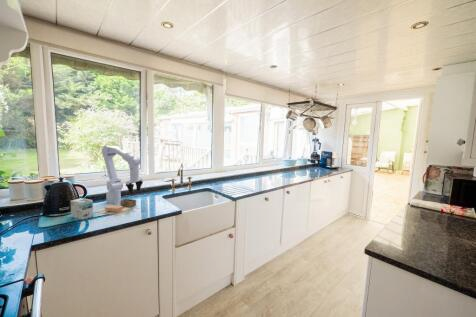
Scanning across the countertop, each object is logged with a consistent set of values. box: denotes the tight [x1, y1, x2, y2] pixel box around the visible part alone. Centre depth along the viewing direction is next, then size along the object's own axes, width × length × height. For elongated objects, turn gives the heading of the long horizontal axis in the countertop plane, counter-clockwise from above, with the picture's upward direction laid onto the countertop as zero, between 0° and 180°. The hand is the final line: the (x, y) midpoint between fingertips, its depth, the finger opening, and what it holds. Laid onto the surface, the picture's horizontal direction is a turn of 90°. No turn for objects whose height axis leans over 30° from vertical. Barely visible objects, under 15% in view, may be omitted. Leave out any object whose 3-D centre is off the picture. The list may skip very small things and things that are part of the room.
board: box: [94, 206, 135, 216], centre depth 137 cm, size 18×14×1 cm
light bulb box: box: [70, 197, 94, 220], centre depth 126 cm, size 11×7×11 cm, turn 71°
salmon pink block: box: [104, 204, 124, 212], centre depth 136 cm, size 9×5×3 cm, turn 78°
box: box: [119, 198, 137, 208], centre depth 148 cm, size 9×5×4 cm, turn 78°
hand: (134, 192), depth 148 cm, fingers open, 7 cm apart
